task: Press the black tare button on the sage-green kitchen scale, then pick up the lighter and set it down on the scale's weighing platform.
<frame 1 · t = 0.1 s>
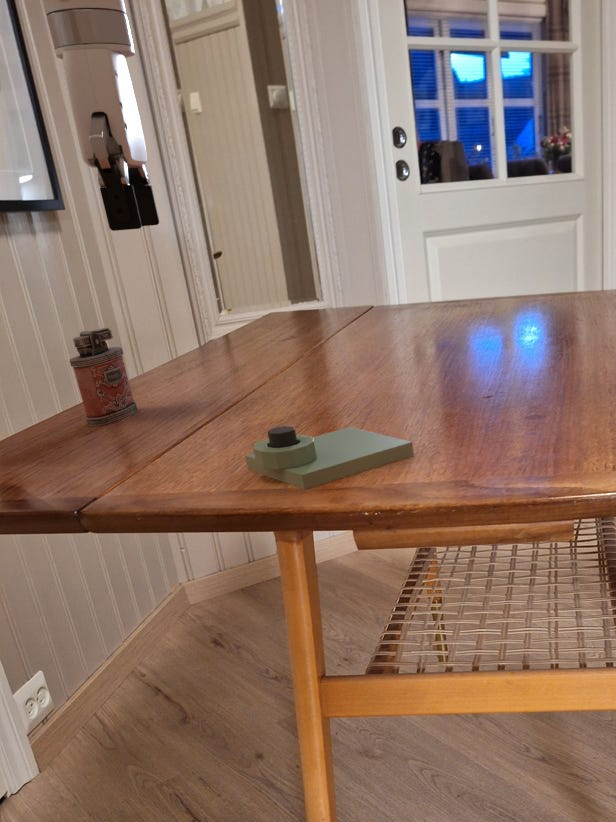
hand: (136, 227, 95), 20 cm above the table, tool pointing down, fingers open, 9 cm apart
scale: (330, 463, 81), on the table
lighter: (113, 418, 105), on the table
tare button: (282, 438, 77), point 3 cm above the table, slide at 0.1 cm
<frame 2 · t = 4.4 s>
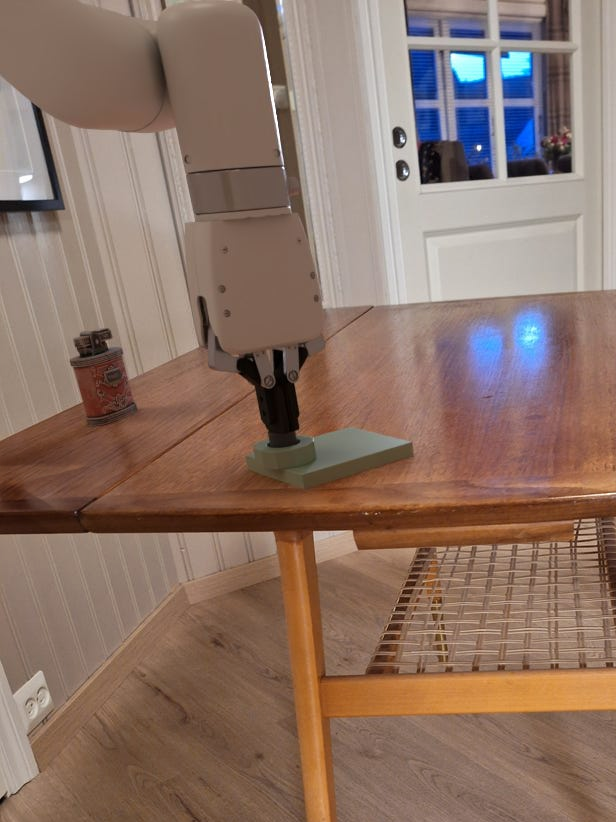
hand: (282, 429, 76), 4 cm above the table, tool pointing down, fingers closed
tare button: (282, 438, 77), point 3 cm above the table, slide at 0.1 cm, touching gripper
everything else where it was.
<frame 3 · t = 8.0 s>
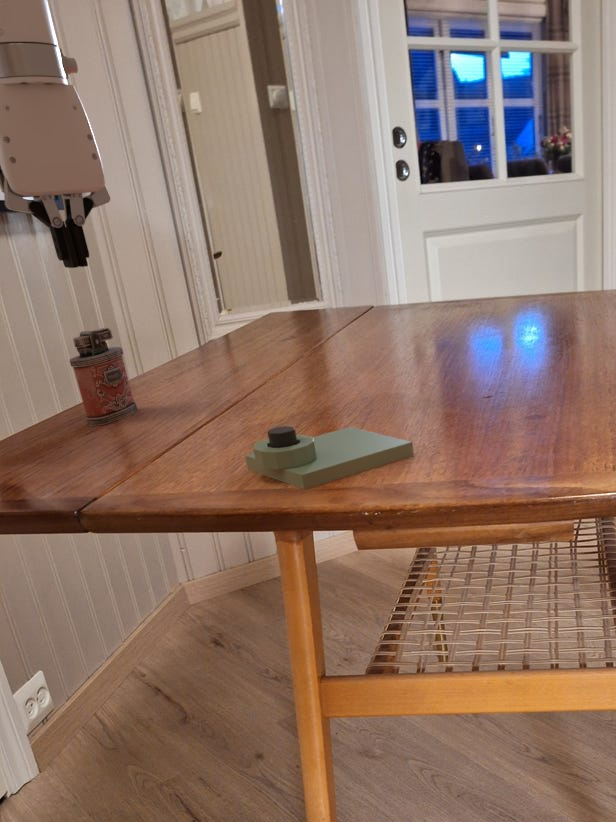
hand: (76, 266, 96), 17 cm above the table, tool pointing down, fingers closed
tare button: (282, 438, 77), point 3 cm above the table, slide at 0.1 cm
everything else where it was.
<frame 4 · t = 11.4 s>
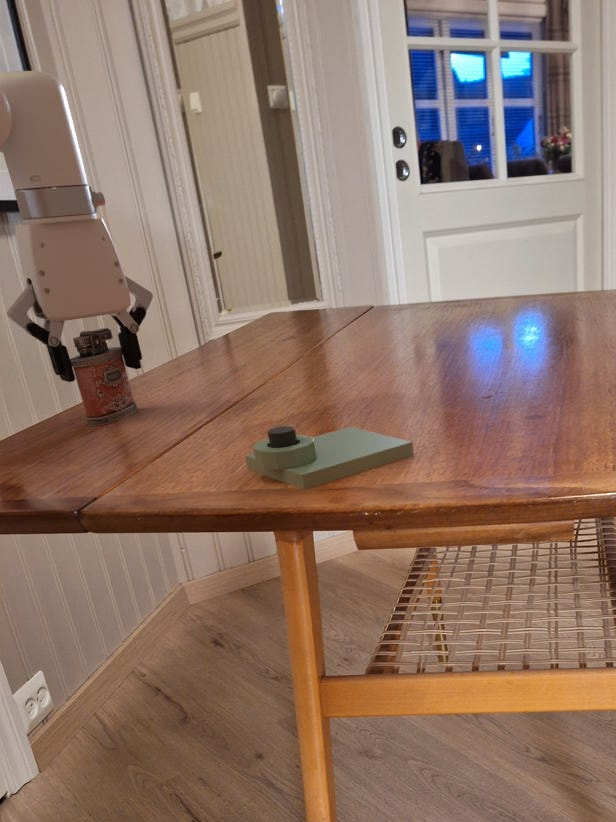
hand: (101, 372, 103), 5 cm above the table, tool pointing down, fingers closed on lighter, 7 cm apart
lighter: (113, 418, 105), on the table, touching gripper
everything else where it was.
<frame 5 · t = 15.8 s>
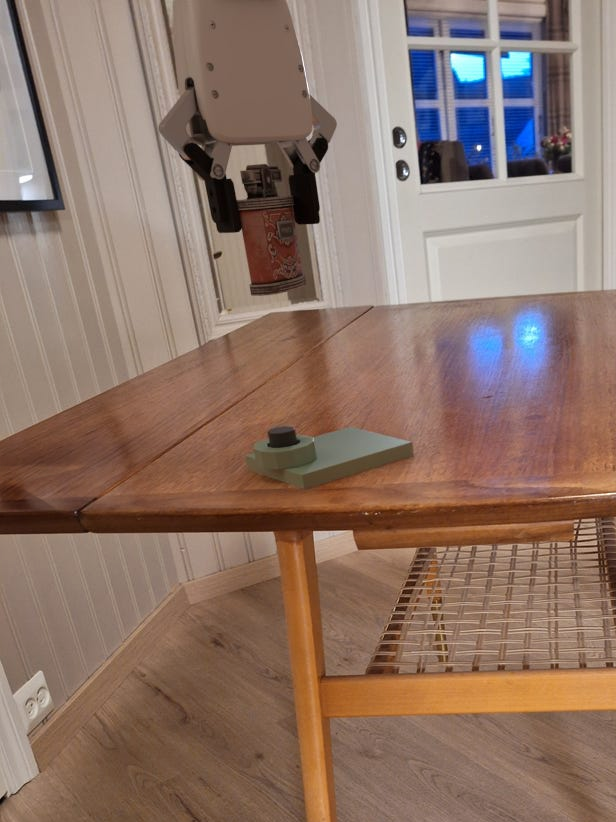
hand: (269, 226, 76), 20 cm above the table, tool pointing down, fingers closed on lighter, 7 cm apart
lighter: (280, 292, 79), point 15 cm above the table, touching gripper
everything else where it was.
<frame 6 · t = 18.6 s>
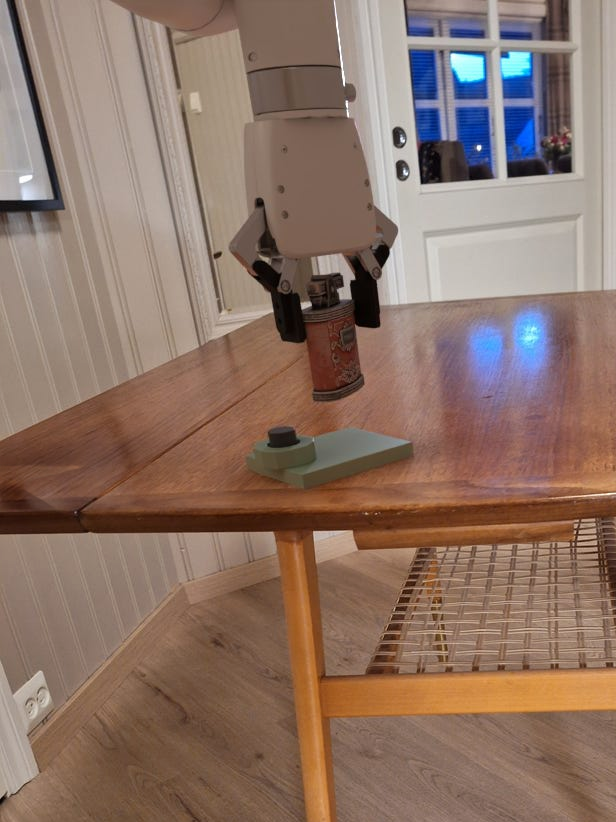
hand: (331, 332, 77), 11 cm above the table, tool pointing down, fingers closed on lighter, 7 cm apart
lighter: (340, 394, 79), point 6 cm above the table, touching gripper
everything else where it was.
when the fingers open (7 cm above the table, at t = 20.7 s): lighter stays where it is, resting on scale.
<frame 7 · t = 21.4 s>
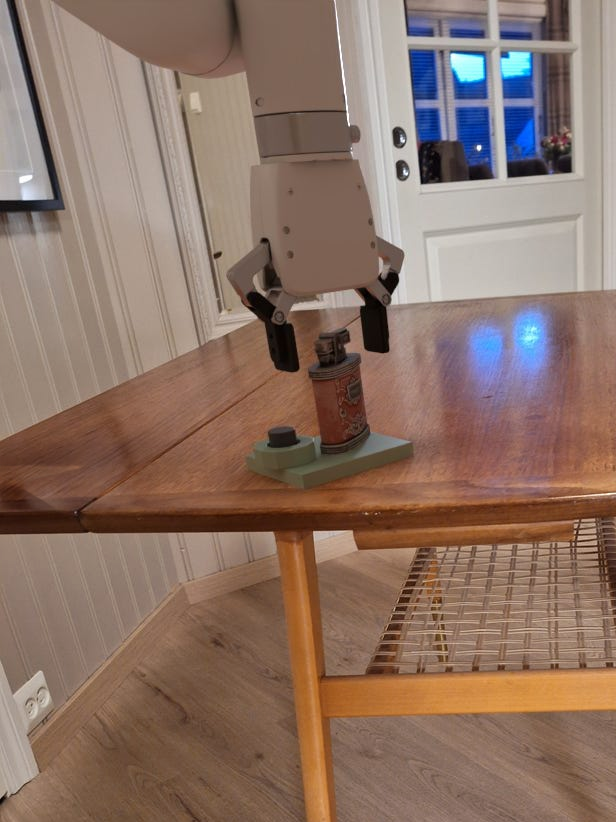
hand: (333, 360, 78), 9 cm above the table, tool pointing down, fingers open, 9 cm apart
lighter: (346, 445, 82), point 1 cm above the table, touching scale
everything else where it was.
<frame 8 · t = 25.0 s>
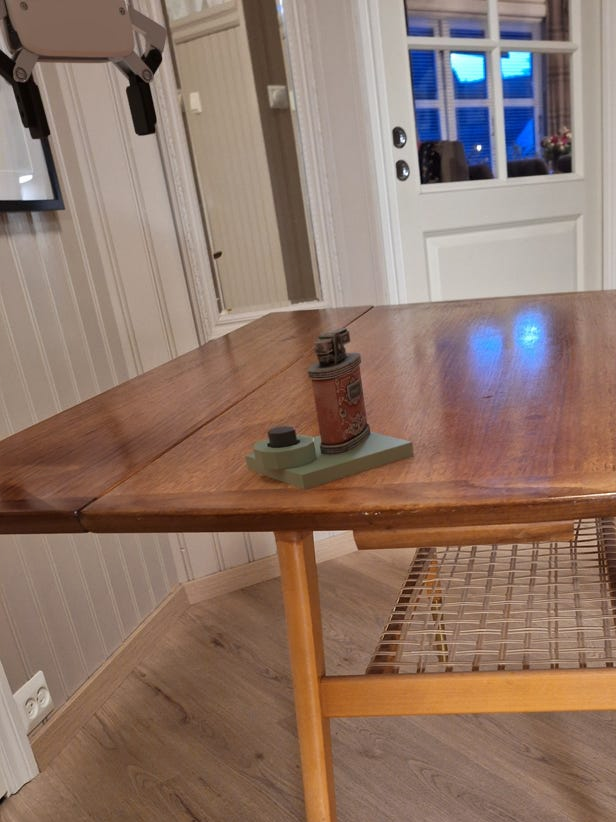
hand: (95, 136, 79), 28 cm above the table, tool pointing down, fingers open, 9 cm apart
nothing on the table moved.
at the end: tare button pushed in 0.9 cm at the most during the clip, back to where it started at the end; lighter inside the target area on the scale (0.1 cm from its centre), point 1.2 cm above the scale's base; lighter touching scale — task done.
